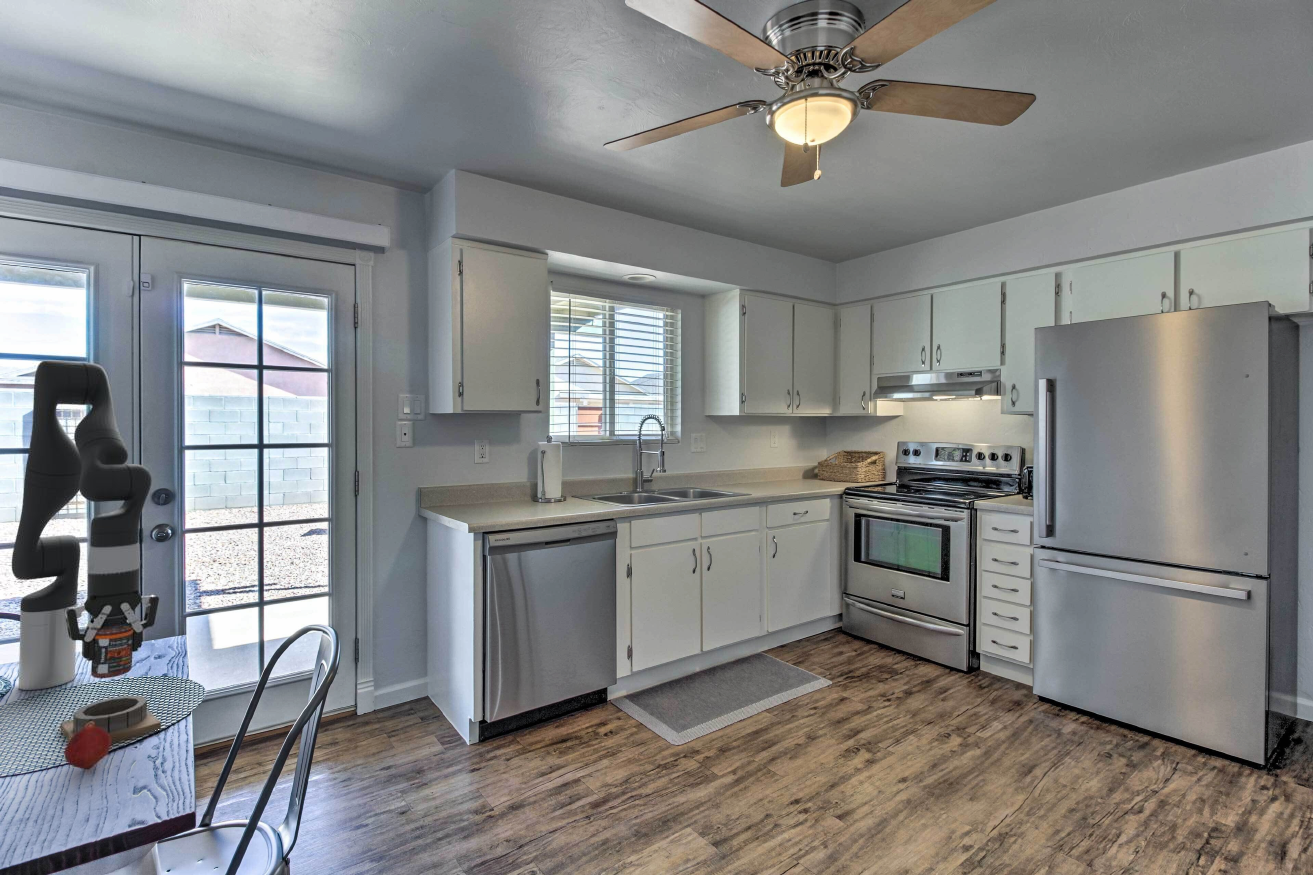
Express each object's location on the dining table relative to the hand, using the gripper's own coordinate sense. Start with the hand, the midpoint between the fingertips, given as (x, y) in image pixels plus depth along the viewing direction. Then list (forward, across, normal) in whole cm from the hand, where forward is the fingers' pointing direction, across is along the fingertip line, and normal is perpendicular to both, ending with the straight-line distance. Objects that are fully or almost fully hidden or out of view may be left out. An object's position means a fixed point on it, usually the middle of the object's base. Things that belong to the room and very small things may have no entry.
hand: (112, 654), depth 120 cm
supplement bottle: (+4, 0, 0) cm, 4 cm away
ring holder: (+14, 0, 0) cm, 14 cm away
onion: (+15, +6, +15) cm, 22 cm away
